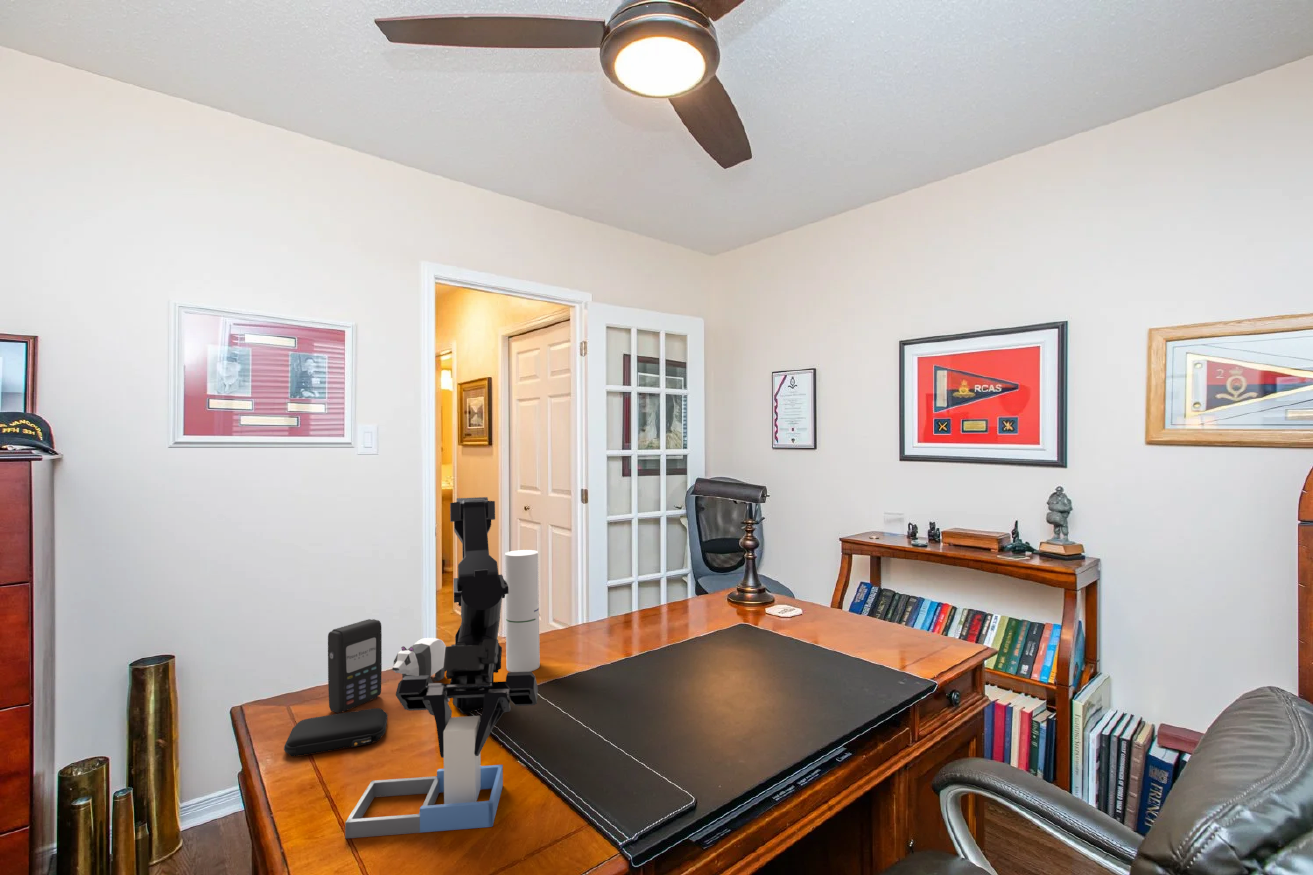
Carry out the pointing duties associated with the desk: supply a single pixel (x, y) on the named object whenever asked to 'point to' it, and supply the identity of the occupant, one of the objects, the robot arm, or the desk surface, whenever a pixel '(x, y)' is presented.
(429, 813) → the organizer
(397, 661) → the giant panda
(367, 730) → the carrying case or bag
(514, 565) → the cylindrical container
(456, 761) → the white rectangular block
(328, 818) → the desk surface
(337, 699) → the card reader
